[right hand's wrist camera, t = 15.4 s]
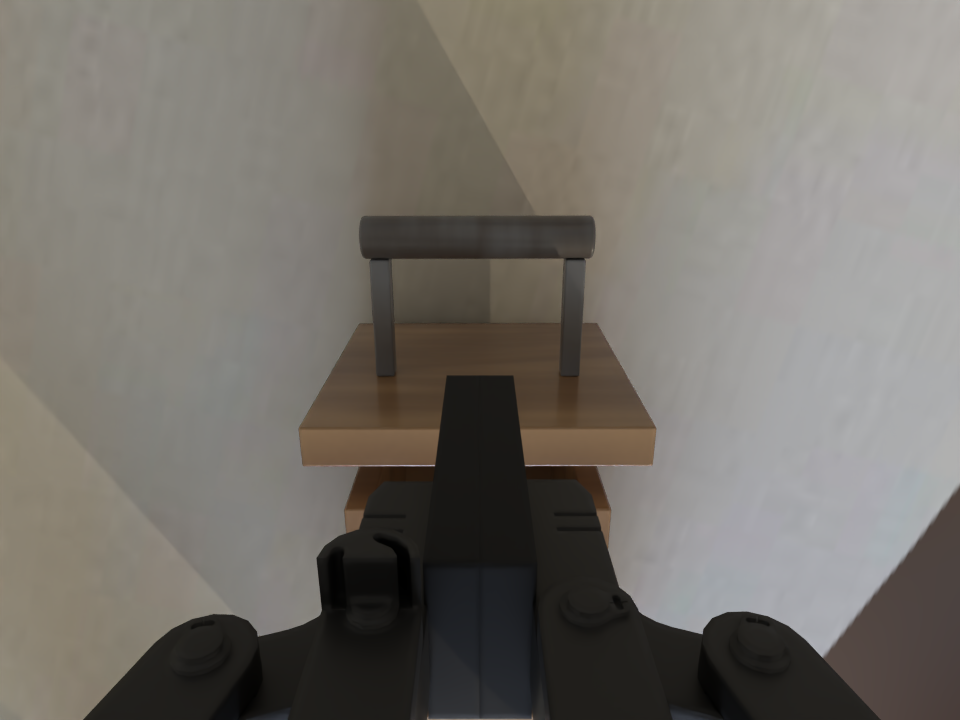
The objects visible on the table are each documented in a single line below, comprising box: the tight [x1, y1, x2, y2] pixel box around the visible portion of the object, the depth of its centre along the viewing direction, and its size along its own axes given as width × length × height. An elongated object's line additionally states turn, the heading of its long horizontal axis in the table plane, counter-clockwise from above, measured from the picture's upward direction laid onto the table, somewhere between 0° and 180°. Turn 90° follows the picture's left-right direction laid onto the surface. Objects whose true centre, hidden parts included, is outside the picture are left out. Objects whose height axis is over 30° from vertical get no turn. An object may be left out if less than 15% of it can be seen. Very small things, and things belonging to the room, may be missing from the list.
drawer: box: [299, 216, 656, 548], centre depth 24 cm, size 22×10×10 cm, turn 0°
